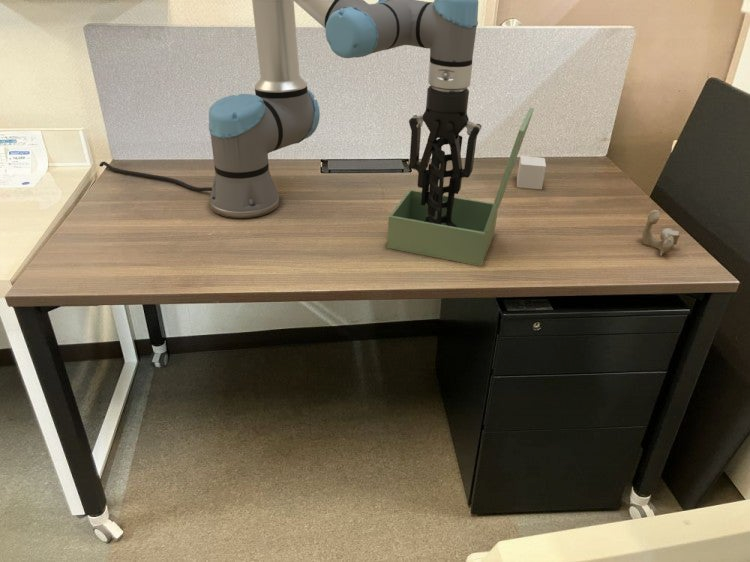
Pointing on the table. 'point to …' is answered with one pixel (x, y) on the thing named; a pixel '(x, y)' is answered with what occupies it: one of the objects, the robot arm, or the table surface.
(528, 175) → the white cube
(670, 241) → the beige irregular piece
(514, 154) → the lid
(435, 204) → the holder
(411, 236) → the box
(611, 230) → the table surface
